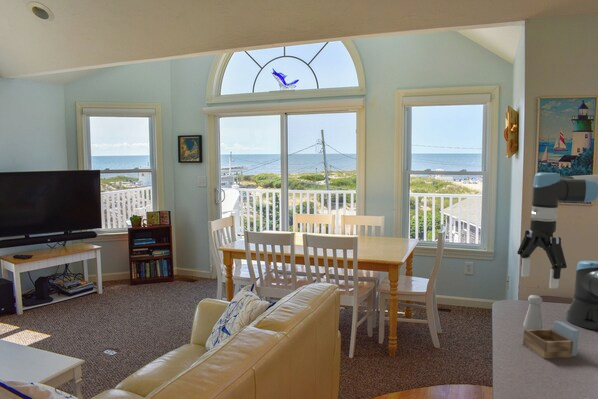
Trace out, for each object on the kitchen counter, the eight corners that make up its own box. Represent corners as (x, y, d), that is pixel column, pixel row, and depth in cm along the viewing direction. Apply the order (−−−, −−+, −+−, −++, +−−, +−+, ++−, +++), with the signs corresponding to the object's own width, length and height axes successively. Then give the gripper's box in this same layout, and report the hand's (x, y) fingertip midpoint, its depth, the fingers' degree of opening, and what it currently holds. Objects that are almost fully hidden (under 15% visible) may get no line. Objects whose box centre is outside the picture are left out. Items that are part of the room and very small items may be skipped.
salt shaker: (543, 337, 153) (547, 299, 151) (525, 335, 154) (529, 298, 152) (538, 330, 158) (542, 294, 157) (520, 328, 159) (524, 292, 158)
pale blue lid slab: (557, 344, 147) (559, 320, 146) (576, 355, 139) (579, 330, 138) (551, 344, 147) (554, 320, 146) (570, 356, 139) (573, 330, 138)
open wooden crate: (549, 343, 147) (550, 329, 147) (571, 357, 138) (573, 341, 137) (522, 344, 146) (524, 329, 145) (543, 358, 136) (545, 342, 136)
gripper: (509, 214, 162) (505, 272, 164) (562, 225, 138) (556, 294, 140) (528, 213, 163) (523, 271, 166) (583, 225, 139) (577, 293, 141)
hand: (538, 282), depth 153 cm, fingers open, 13 cm apart
